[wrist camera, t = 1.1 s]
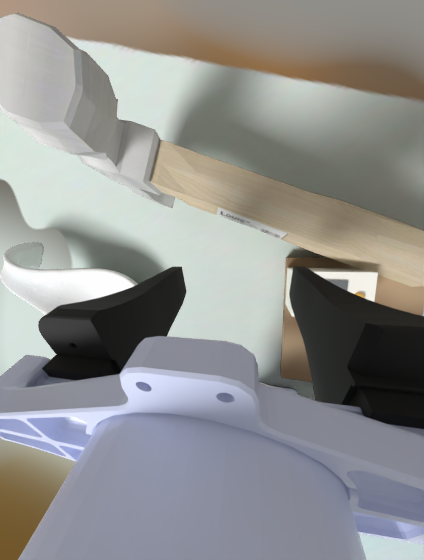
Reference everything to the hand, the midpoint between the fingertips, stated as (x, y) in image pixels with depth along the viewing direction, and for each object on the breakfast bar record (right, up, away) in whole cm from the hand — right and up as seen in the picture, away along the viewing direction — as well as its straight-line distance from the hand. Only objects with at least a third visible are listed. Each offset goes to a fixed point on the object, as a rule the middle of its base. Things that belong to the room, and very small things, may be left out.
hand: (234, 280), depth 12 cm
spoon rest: (-19, -1, +16) cm, 25 cm away
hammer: (+5, +7, +9) cm, 13 cm away
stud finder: (+10, -1, +7) cm, 12 cm away
